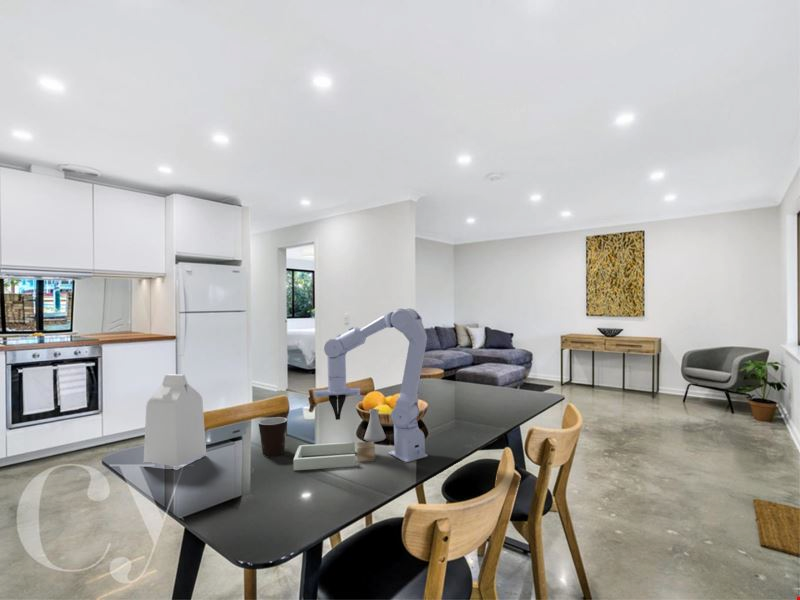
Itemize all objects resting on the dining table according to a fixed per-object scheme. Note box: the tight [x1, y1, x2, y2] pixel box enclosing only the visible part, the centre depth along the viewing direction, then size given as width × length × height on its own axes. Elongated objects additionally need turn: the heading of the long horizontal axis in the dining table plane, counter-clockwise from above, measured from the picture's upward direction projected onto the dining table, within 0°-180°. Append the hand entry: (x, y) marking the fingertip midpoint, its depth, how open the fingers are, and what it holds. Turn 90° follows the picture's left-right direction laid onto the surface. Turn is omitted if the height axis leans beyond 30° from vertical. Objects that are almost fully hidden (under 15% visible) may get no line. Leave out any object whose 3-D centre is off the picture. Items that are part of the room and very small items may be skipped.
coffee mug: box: [258, 416, 288, 457], centre depth 128 cm, size 12×9×10 cm
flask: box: [363, 408, 387, 443], centre depth 138 cm, size 7×7×10 cm
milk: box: [143, 373, 207, 466], centre depth 122 cm, size 12×12×26 cm
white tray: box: [292, 441, 356, 471], centre depth 119 cm, size 17×12×3 cm
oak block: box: [356, 441, 376, 462], centre depth 121 cm, size 5×5×4 cm
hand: (337, 418), depth 130 cm, fingers closed
